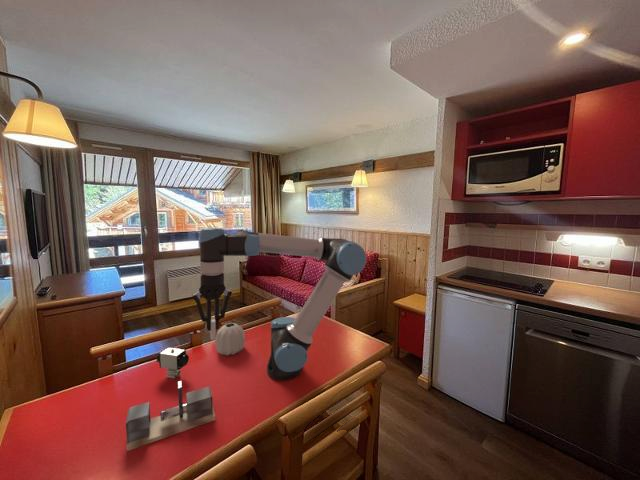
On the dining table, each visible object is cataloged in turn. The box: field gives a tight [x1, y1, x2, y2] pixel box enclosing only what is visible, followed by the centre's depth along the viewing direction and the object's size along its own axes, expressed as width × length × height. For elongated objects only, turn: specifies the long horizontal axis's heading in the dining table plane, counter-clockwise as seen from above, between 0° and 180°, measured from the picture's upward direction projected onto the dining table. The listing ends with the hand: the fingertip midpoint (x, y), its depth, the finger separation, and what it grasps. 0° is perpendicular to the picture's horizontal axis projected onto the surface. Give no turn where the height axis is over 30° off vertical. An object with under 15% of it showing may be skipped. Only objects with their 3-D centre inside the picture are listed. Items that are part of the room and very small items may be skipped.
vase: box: [214, 322, 246, 356], centre depth 130 cm, size 14×14×13 cm
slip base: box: [125, 385, 216, 452], centre depth 86 cm, size 24×9×8 cm, turn 120°
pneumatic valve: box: [156, 347, 190, 380], centre depth 110 cm, size 6×12×12 cm, turn 78°
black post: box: [159, 380, 188, 421], centre depth 87 cm, size 14×5×11 cm, turn 120°
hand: (212, 338), depth 94 cm, fingers closed
